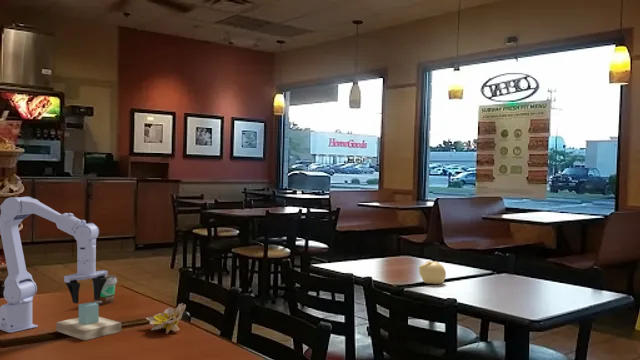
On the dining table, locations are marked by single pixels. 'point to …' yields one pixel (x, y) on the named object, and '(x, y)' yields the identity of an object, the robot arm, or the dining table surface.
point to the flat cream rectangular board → (88, 328)
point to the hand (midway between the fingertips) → (86, 301)
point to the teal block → (88, 313)
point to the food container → (107, 291)
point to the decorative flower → (168, 318)
